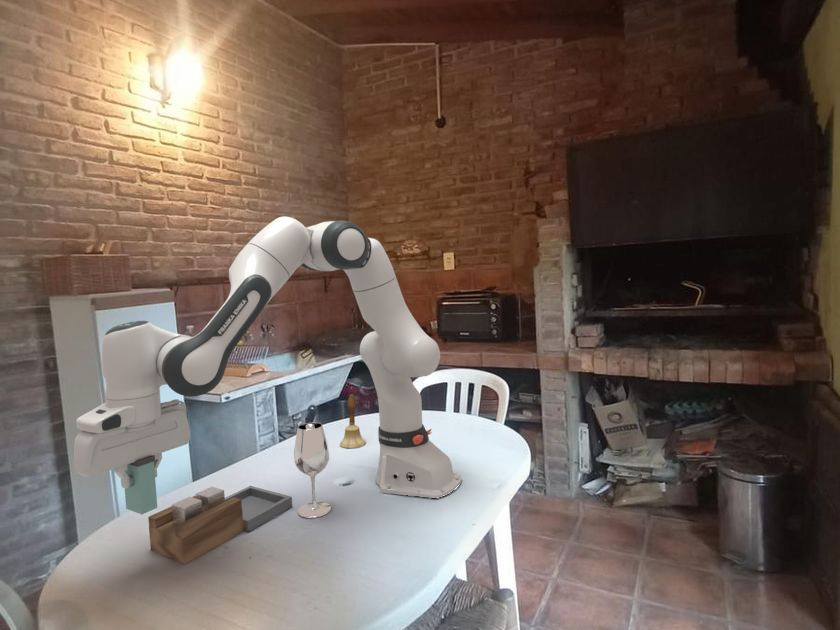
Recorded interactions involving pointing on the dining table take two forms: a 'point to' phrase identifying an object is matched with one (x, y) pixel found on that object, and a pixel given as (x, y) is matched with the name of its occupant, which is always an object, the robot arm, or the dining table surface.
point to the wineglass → (311, 463)
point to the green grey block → (141, 486)
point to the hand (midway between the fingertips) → (139, 482)
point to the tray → (260, 505)
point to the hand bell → (352, 428)
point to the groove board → (195, 531)
